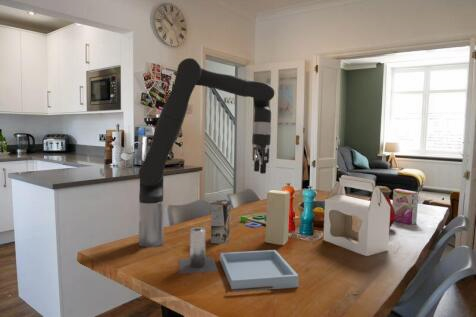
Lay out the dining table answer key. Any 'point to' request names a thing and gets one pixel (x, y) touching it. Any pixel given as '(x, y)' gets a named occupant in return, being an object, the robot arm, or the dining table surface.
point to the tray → (258, 270)
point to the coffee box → (220, 221)
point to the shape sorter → (256, 219)
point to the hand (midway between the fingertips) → (259, 172)
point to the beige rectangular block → (277, 217)
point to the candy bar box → (405, 206)
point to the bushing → (197, 247)
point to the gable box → (370, 212)
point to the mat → (186, 268)
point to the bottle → (386, 193)
